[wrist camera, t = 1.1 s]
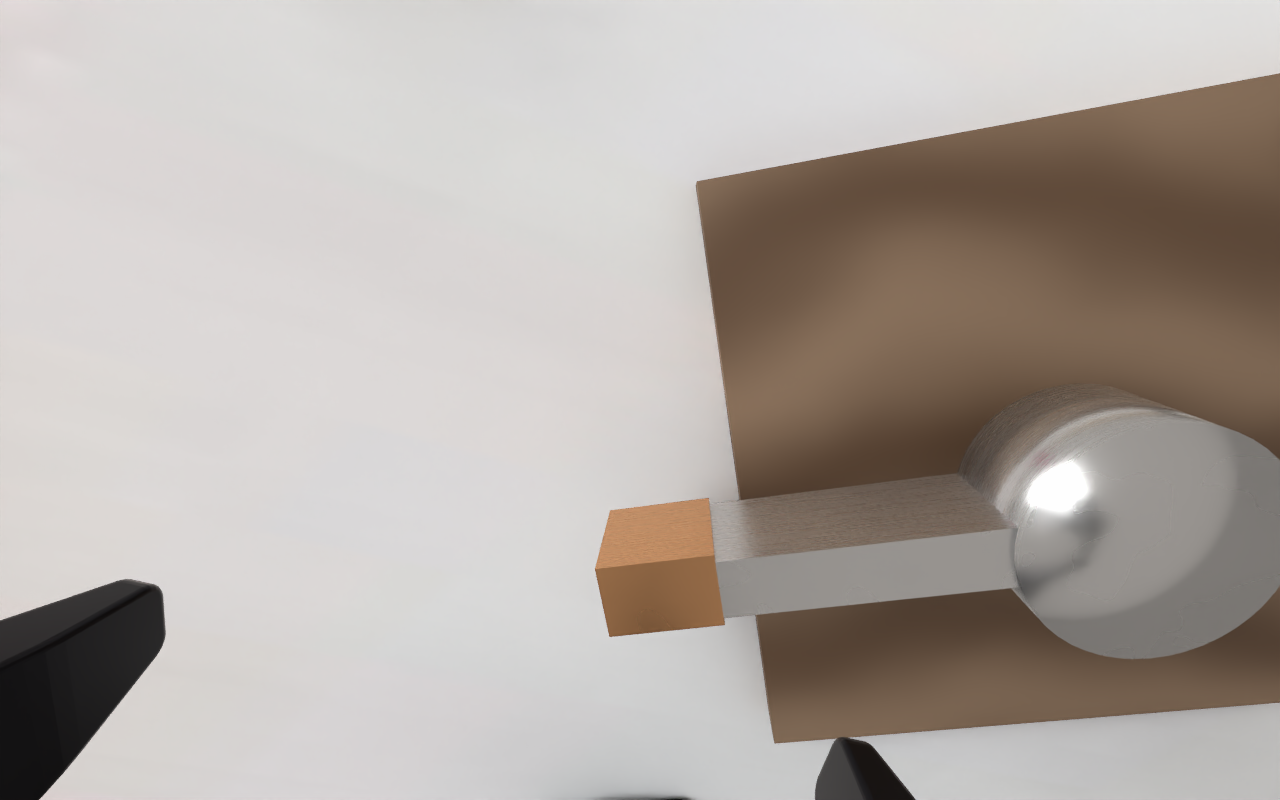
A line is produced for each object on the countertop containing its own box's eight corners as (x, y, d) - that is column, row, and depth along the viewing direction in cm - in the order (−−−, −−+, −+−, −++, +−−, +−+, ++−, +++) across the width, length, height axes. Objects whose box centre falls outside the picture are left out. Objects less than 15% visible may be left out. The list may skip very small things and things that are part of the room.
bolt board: (1268, 668, 22) (1502, 844, 16) (769, 712, 24) (799, 883, 18) (1339, 66, 17) (1728, -31, 11) (695, 185, 19) (702, 162, 13)
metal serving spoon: (1184, 368, 16) (1317, 404, 13) (1171, 566, 18) (1287, 645, 14) (598, 449, 18) (578, 500, 14) (632, 623, 19) (622, 706, 16)
